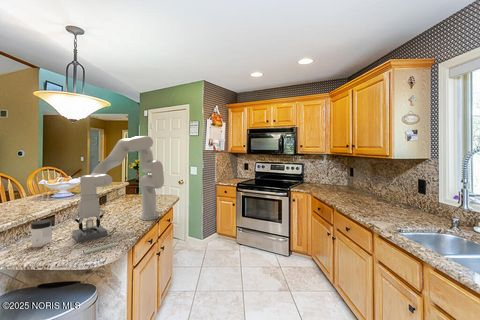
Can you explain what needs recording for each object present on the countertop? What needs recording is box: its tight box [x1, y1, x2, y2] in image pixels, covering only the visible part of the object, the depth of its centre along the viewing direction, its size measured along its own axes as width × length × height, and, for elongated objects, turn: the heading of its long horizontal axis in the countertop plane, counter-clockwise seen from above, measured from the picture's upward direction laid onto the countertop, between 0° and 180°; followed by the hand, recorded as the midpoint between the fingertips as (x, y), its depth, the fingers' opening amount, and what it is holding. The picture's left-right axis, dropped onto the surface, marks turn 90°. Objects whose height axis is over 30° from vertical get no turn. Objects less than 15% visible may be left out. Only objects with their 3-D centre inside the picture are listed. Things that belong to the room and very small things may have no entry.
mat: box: [82, 242, 118, 255], centre depth 118 cm, size 14×12×1 cm
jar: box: [30, 219, 53, 248], centre depth 121 cm, size 9×8×12 cm
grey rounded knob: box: [85, 218, 95, 233], centre depth 130 cm, size 6×6×9 cm
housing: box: [71, 224, 108, 244], centre depth 130 cm, size 14×14×4 cm
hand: (89, 228), depth 130 cm, fingers open, 7 cm apart
